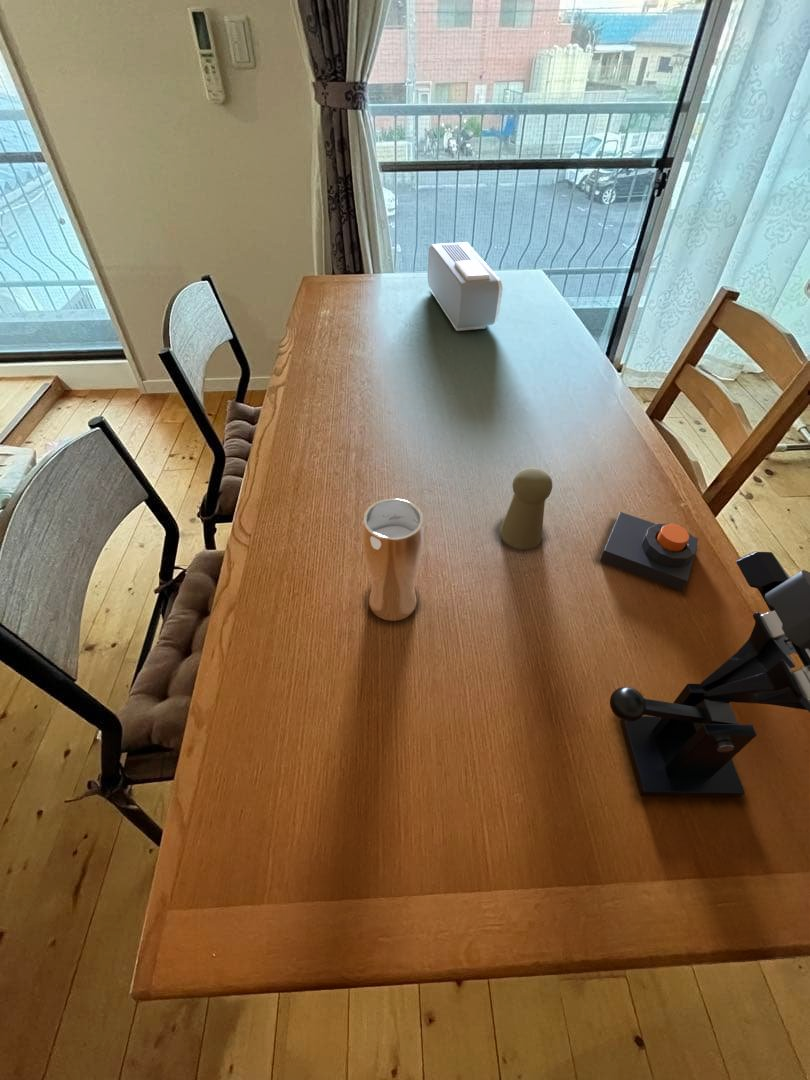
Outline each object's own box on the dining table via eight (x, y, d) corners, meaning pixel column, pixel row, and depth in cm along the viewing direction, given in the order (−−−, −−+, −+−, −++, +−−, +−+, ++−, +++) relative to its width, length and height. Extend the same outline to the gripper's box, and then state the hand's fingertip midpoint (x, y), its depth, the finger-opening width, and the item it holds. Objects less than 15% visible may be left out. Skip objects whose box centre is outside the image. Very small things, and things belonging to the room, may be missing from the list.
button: (686, 538, 75) (691, 529, 74) (682, 555, 73) (687, 546, 72) (659, 529, 77) (664, 520, 75) (654, 546, 74) (658, 536, 73)
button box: (692, 548, 79) (703, 529, 76) (681, 591, 74) (693, 572, 71) (615, 522, 83) (623, 502, 80) (599, 561, 77) (607, 541, 74)
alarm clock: (497, 333, 125) (504, 278, 117) (457, 336, 124) (462, 281, 115) (461, 285, 144) (465, 235, 135) (426, 288, 142) (428, 237, 133)
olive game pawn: (549, 542, 79) (567, 484, 72) (512, 553, 78) (526, 494, 70) (528, 515, 83) (542, 457, 75) (492, 525, 82) (503, 466, 74)
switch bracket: (640, 796, 55) (681, 750, 47) (619, 720, 61) (653, 668, 53) (740, 797, 55) (797, 752, 47) (710, 722, 61) (756, 670, 53)
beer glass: (359, 589, 73) (353, 504, 62) (408, 575, 75) (411, 491, 64) (375, 630, 68) (373, 547, 58) (428, 615, 70) (434, 531, 59)
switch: (608, 724, 49) (626, 709, 47) (600, 694, 52) (617, 678, 49) (721, 741, 52) (743, 727, 50) (709, 711, 54) (730, 697, 52)
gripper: (817, 475, 43) (630, 567, 51) (994, 697, 30) (705, 774, 38) (856, 547, 48) (683, 619, 56) (1019, 759, 35) (764, 815, 43)
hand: (704, 692), depth 48 cm, fingers closed
